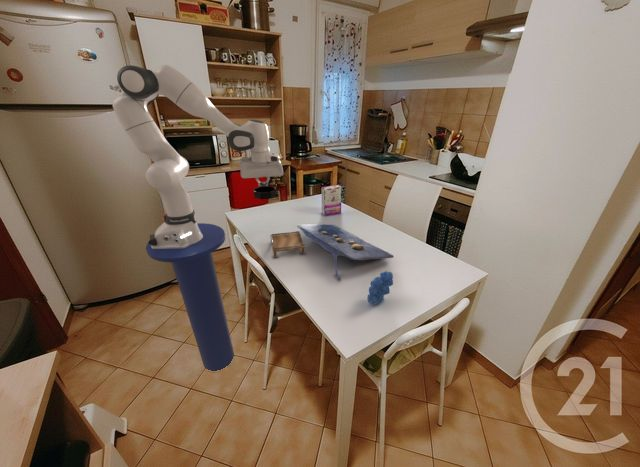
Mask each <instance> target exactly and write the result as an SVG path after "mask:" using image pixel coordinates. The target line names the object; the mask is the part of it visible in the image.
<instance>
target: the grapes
mask: <svg viewBox="0 0 640 467" xmlns="http://www.w3.org/2000/svg"><path fill="white" fill-rule="evenodd" d="M379 275H380V276H377V277H375V278H373V280H371V281H370V286H369V287H368V294H367V298H366V299H367V300H366V301H367V302H368V303H370V305H371V306H377V305H378V304H379V303H381V302H384V300H385V296H386V295H388V294H390V292H391V290H390V287H392V286H393V285H394V280H393V279H394V276H393V272H391V271H386V270H384V271H382V272H381V273H379Z"/></svg>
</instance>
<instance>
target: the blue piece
mask: <svg viewBox="0 0 640 467" xmlns="http://www.w3.org/2000/svg"><path fill="white" fill-rule="evenodd" d="M296 228H298V229H300V230H301V231H302V232H303V234H304V235H305V236H306V237H308V238H309V239H311V240H312V241H313V242H315V243H316V244H318V245H319V246H320V247H322V249H324V250H325V251H326V252H329V253H330V254H331V255H332V257H333V262H334V270H335V272H334V274H335V275H334V277H335V278H336V279H337V280H340V278H339V274H338V269H337V263H338V262H337V261H338V260H337V258H338V256H342V257H346V258H348V259H349V260H353V261H366V260H367V261H368V260H382V259H383V260H384V259H392V258H394V257H395V256H394V255H393V254H392V253H389V252H388V251H385V250H383V249H382V248H380V247H378V246H375V245H373V244H372V243H369V242H367V241H365V240H363V239H361V238H359V236H356V235H353V234H351V233H349V232H348V231H346V230H344V229H342V228H340V227H338V226H335V225H333V224H320V223H315V224H314V223H313V224H312V223H311V224H307V223H306V224H305V223H304V224H301V223H300V224H297V225H296Z"/></svg>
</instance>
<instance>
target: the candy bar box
mask: <svg viewBox="0 0 640 467" xmlns="http://www.w3.org/2000/svg"><path fill="white" fill-rule="evenodd" d="M342 192H343V187H342V186H341V185H339V184H336V185H328V186H322V187H321V214H322V215H323V216H324V217H326V216H332V215H337V214H341V213H342V195H343V194H342Z"/></svg>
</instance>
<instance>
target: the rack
mask: <svg viewBox="0 0 640 467" xmlns="http://www.w3.org/2000/svg"><path fill="white" fill-rule="evenodd" d="M269 239H270V243H271V248H272V253H273V259H277V258H278V256H277V253H278V252H286V251H287V252H288V251H294V250H295V251H296V250H300V252H301V255H305V249H306V246H305V242H304V239H303V238H302V235H301V233H300V231H298V230H297V231H296V230H295V231H287V232H279V233H271V234H270V236H269Z"/></svg>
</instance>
